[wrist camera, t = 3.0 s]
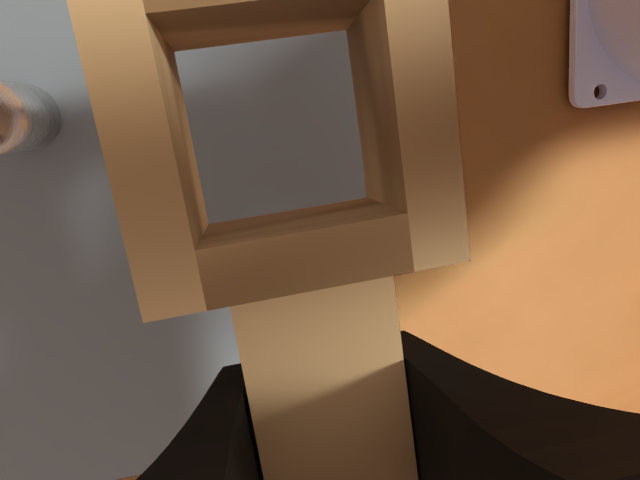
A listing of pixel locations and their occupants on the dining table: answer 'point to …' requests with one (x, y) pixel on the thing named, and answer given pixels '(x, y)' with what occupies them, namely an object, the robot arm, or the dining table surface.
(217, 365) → the board
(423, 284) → the dining table surface
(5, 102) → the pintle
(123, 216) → the link
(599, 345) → the dining table surface
